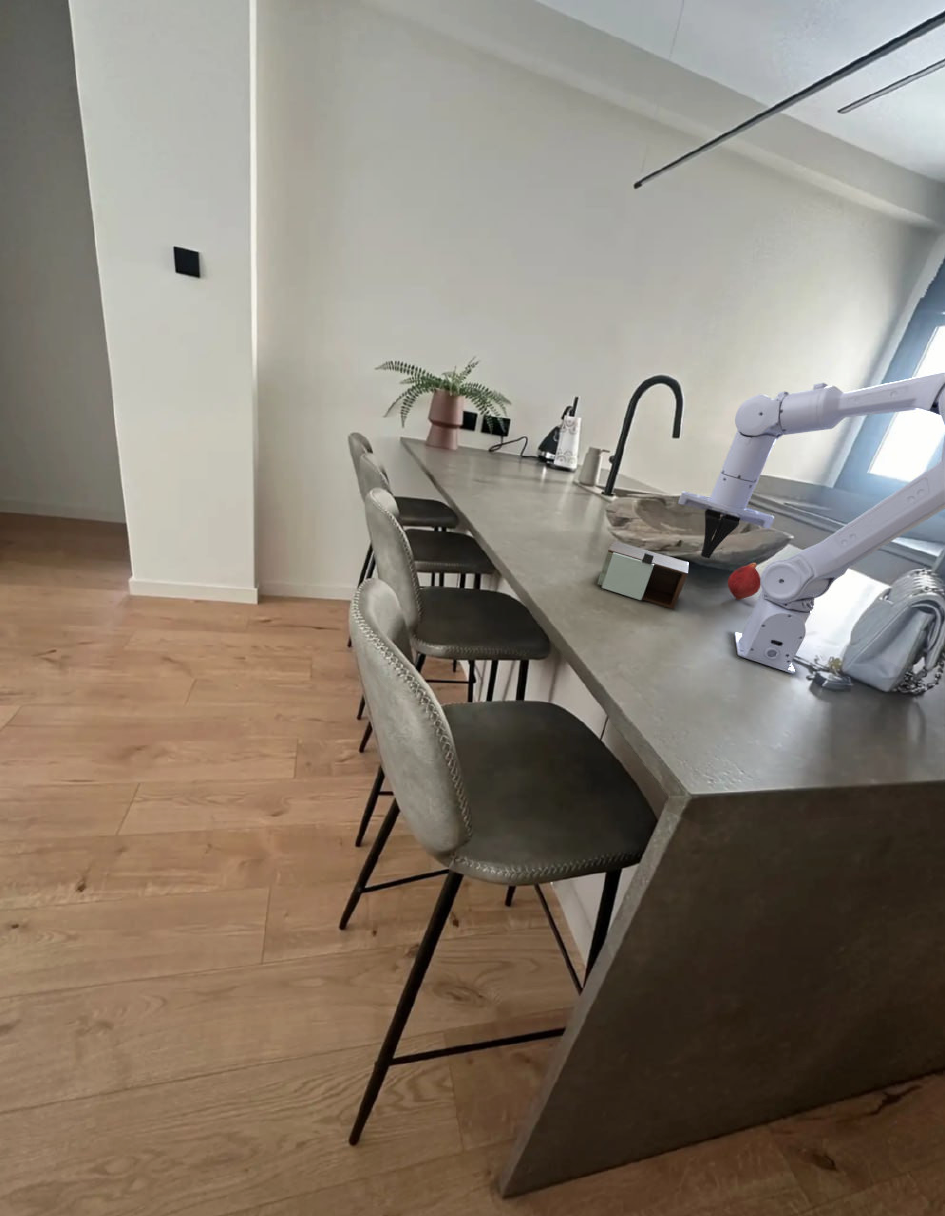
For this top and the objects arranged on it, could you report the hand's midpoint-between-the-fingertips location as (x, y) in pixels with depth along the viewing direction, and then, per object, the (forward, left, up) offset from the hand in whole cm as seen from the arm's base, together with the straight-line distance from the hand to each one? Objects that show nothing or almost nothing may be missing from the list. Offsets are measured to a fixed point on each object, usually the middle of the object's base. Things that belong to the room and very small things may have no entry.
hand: (705, 556), depth 90 cm
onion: (+18, -10, -11) cm, 23 cm away
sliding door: (-2, +11, -10) cm, 15 cm away
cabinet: (+3, +9, -10) cm, 14 cm away
